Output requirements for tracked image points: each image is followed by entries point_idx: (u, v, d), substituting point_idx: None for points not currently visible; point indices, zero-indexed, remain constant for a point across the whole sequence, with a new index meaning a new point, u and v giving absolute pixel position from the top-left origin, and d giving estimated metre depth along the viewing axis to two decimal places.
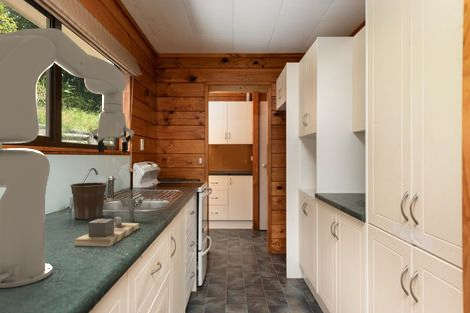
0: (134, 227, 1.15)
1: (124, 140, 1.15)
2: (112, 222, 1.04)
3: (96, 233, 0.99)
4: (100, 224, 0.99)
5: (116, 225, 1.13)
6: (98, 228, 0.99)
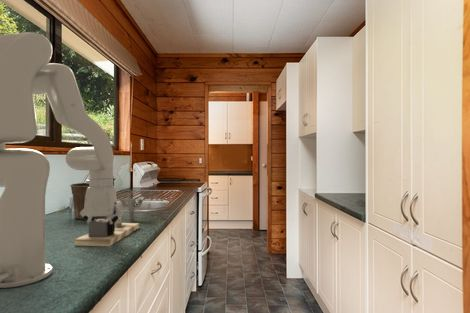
0: (134, 227, 1.15)
1: (110, 222, 1.01)
2: None
3: (96, 233, 0.99)
4: (100, 224, 0.99)
5: (116, 225, 1.13)
6: (98, 228, 0.99)
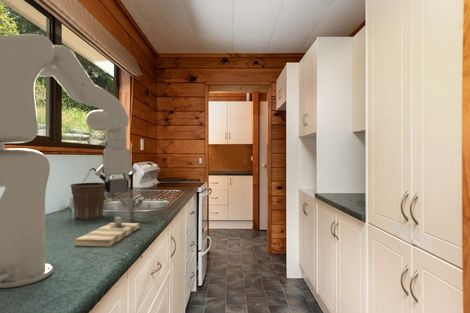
0: (134, 227, 1.15)
1: (127, 178, 1.15)
2: None
3: (118, 188, 1.11)
4: (122, 180, 1.12)
5: (116, 225, 1.13)
6: (120, 184, 1.11)
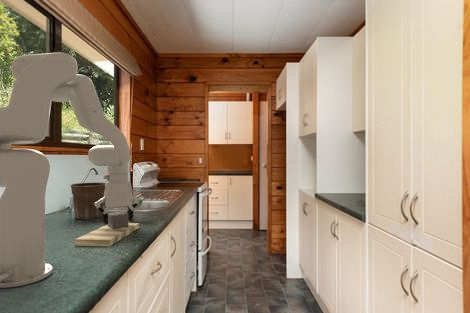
0: (134, 227, 1.15)
1: (132, 208, 1.17)
2: None
3: (120, 224, 1.12)
4: (124, 215, 1.13)
5: None
6: (122, 219, 1.12)
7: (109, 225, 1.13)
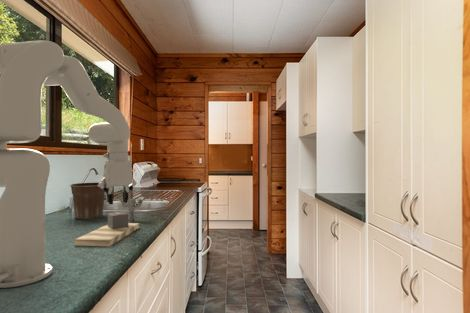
0: (134, 227, 1.15)
1: (127, 190, 1.15)
2: None
3: (120, 224, 1.12)
4: (124, 215, 1.13)
5: None
6: (122, 219, 1.12)
7: (109, 225, 1.13)
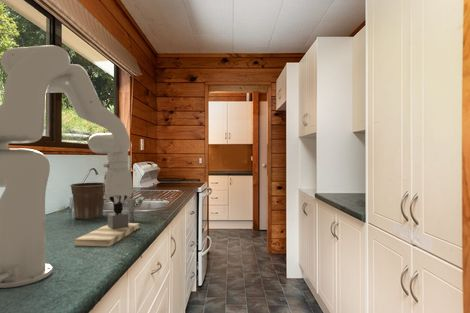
0: (134, 227, 1.15)
1: (121, 201, 1.14)
2: None
3: (120, 224, 1.12)
4: (124, 215, 1.13)
5: None
6: (122, 219, 1.12)
7: (109, 225, 1.13)
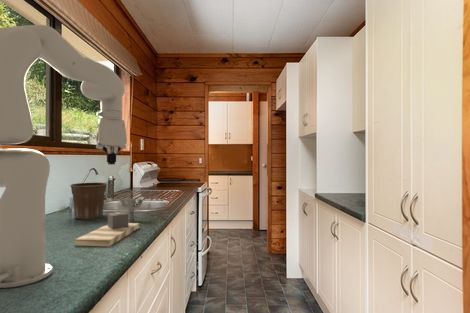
0: (134, 227, 1.15)
1: (115, 152, 1.11)
2: None
3: (120, 224, 1.12)
4: (124, 215, 1.13)
5: None
6: (122, 219, 1.12)
7: (109, 225, 1.13)
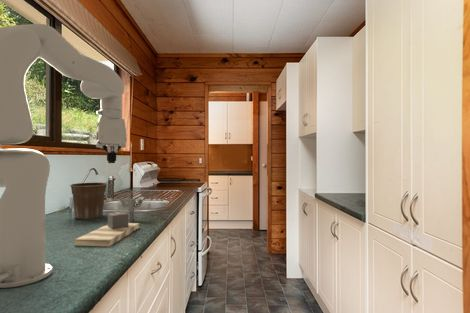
0: (134, 227, 1.15)
1: (115, 150, 1.11)
2: None
3: (120, 224, 1.12)
4: (124, 215, 1.13)
5: None
6: (122, 219, 1.12)
7: (109, 225, 1.13)
